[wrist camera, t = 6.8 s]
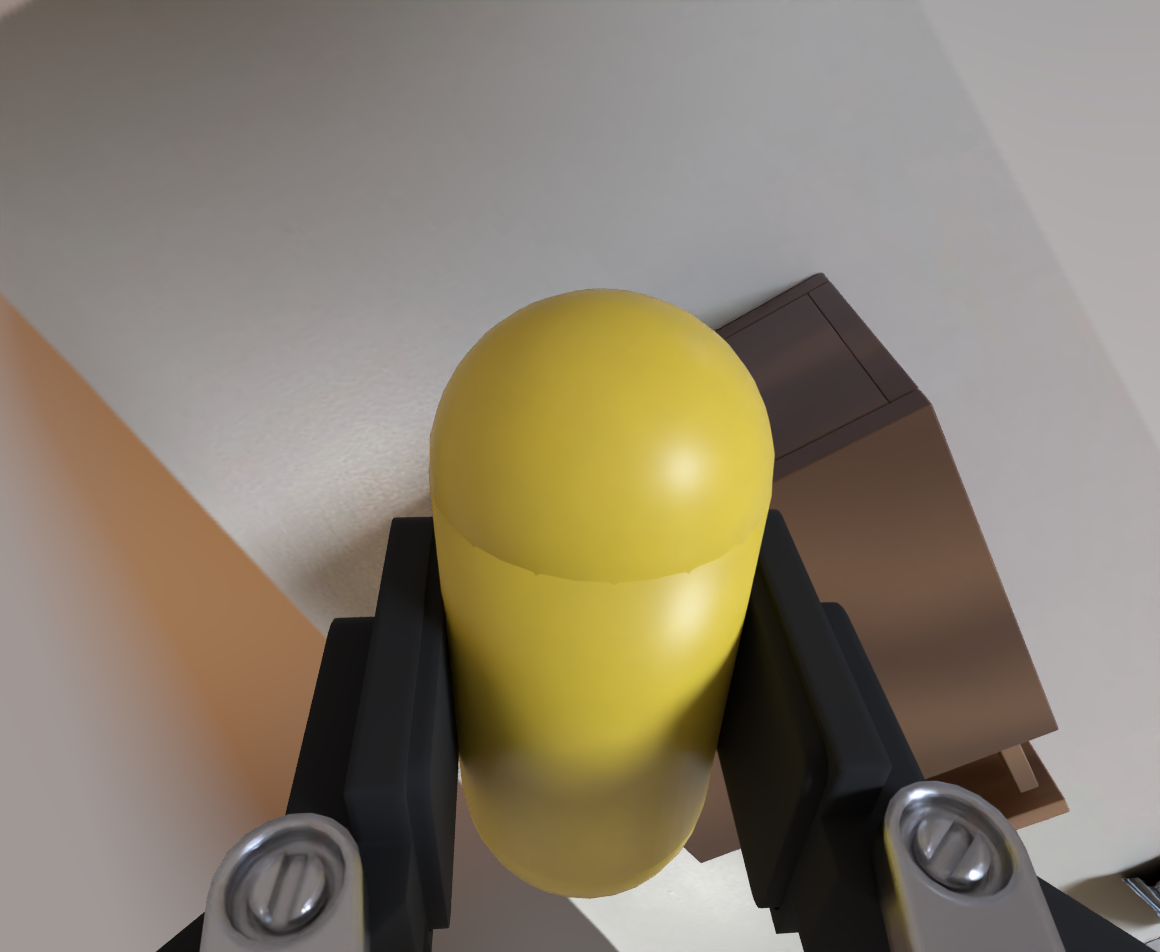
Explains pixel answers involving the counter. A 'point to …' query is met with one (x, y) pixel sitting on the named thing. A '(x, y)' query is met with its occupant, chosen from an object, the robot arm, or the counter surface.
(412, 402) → the counter surface
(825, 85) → the counter surface
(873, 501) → the cabinet
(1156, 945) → the grater
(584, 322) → the yellow pill capsule
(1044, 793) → the drawer
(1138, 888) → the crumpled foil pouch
